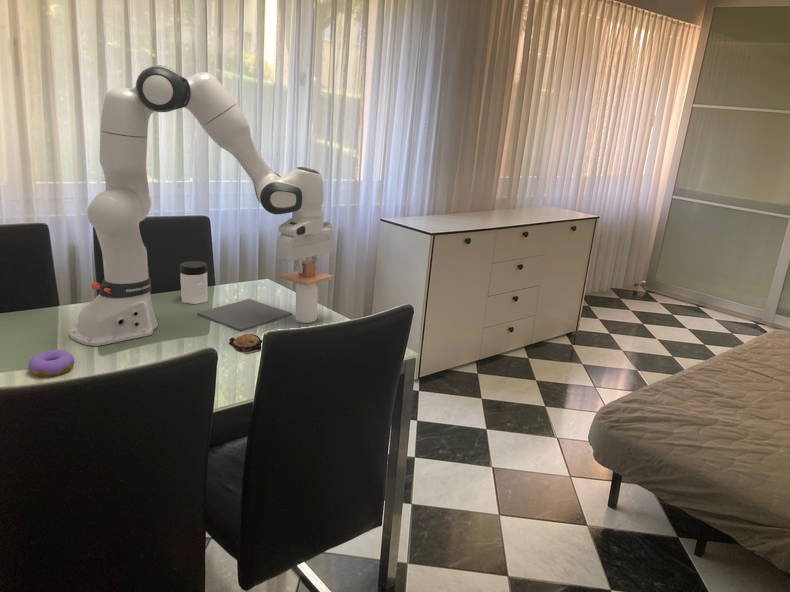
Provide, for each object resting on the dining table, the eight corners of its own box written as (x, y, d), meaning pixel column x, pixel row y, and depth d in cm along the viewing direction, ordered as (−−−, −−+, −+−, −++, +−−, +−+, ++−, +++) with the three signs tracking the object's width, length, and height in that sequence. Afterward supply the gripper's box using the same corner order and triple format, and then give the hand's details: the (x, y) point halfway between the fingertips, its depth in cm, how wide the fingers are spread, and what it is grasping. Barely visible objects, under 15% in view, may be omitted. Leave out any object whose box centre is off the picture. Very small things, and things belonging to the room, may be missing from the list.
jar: (187, 306, 191) (186, 268, 188) (176, 299, 197) (174, 263, 193) (214, 300, 197) (212, 264, 194) (202, 294, 203) (200, 259, 199)
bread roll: (272, 350, 163) (272, 337, 162) (243, 357, 158) (243, 344, 156) (252, 338, 170) (252, 325, 169) (224, 344, 165) (224, 331, 164)
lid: (307, 286, 174) (307, 269, 172) (280, 278, 180) (280, 261, 178) (333, 278, 182) (333, 262, 181) (306, 271, 188) (306, 255, 187)
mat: (240, 331, 173) (240, 329, 173) (197, 314, 184) (197, 312, 184) (292, 315, 188) (292, 313, 188) (249, 300, 200) (249, 298, 199)
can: (306, 325, 181) (306, 286, 177) (291, 319, 184) (291, 281, 181) (321, 320, 186) (322, 282, 182) (306, 314, 189) (306, 277, 186)
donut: (27, 364, 145) (29, 344, 144) (70, 365, 150) (73, 346, 149) (27, 380, 137) (30, 360, 136) (74, 381, 142) (77, 362, 141)
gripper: (324, 219, 186) (323, 263, 190) (273, 227, 170) (273, 275, 174) (339, 222, 183) (338, 267, 187) (289, 231, 167) (289, 279, 171)
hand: (306, 271), depth 180 cm, fingers closed on lid, 3 cm apart
